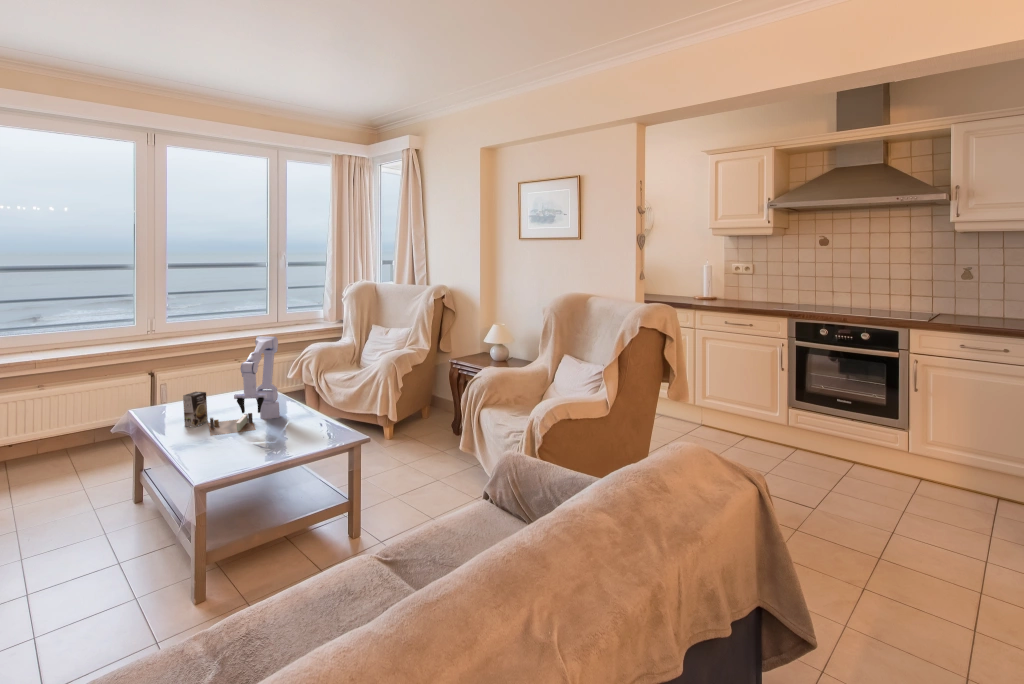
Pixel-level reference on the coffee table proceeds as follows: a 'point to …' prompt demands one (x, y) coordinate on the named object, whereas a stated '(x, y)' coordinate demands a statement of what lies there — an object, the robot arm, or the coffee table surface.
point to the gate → (242, 422)
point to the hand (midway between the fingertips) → (251, 412)
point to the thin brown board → (229, 426)
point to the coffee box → (195, 409)
